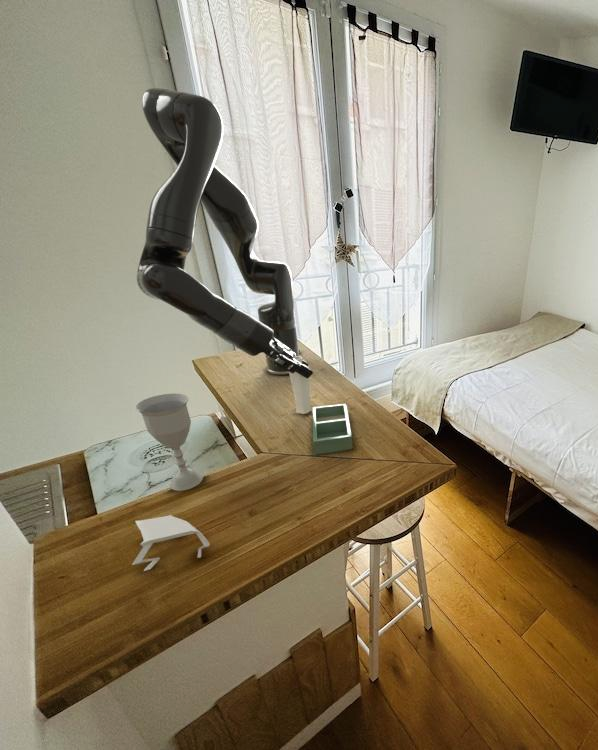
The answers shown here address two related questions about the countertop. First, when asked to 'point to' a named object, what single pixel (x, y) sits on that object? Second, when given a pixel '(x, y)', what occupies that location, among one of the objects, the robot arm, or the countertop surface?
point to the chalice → (171, 432)
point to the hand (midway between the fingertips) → (307, 370)
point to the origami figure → (164, 535)
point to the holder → (331, 429)
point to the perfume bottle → (301, 390)
